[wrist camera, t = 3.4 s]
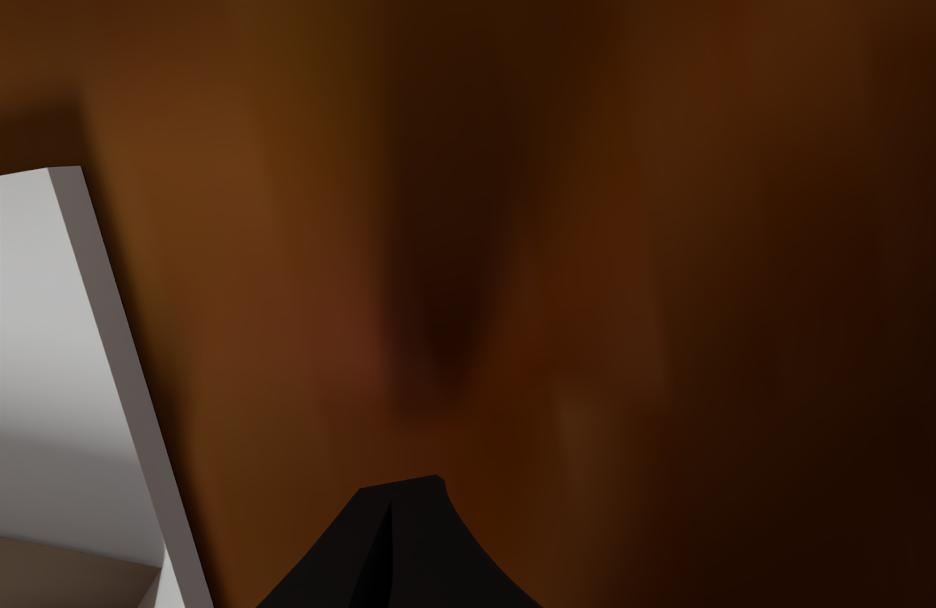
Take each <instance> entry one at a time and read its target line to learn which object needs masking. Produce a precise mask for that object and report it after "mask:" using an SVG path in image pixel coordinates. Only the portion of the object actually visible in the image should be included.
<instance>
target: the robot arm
mask: <svg viewBox="0 0 936 608" xmlns="http://www.w3.org/2000/svg"><path fill="white" fill-rule="evenodd" d="M256 608H543V607H542V606H540V605H539V604H538V603H537V602H536V601H534V600H533V599H532V598H531V597H529V596H528V595H527V594H526V593H525V592H524V591H523V590H522V589H521V588H519V587H518V586H517V585H516V584H515V583H514V582H513V581H512V580H511V579H510V578H509V577H508V576H507V575H506V574H505V573H504V572H503V571H502V570H501V569H500V568H499V567H498V566H497V565H496V564H495V562H494V561H493V560H492V559H491V558H490V557H489V556H488V554H487V553H486V552H485V551H484V550H483V549H482V547H481V546H480V545H479V544H478V542H477V541H476V540H475V539H474V537H473V536H472V534H471V533H470V531H469V530H468V529H467V527H466V526H465V524H464V523H463V522H462V520H461V519H460V517H459V515H458V514H457V512H456V510H455V509H454V507H453V505H452V503H451V501H450V499H449V497H448V495H447V491H446V486H445V481H444V480H443V479H442V478H441V477H439V476H438V475H431V476H425V477H420V478H414V479H409V480H403V481H398V482H393V483H387V484H382V485H376V486H371V487H365V488H360V489H359V490H358V491H357V492H356V493H355V495H354V496H353V497H352V498H351V500H350V501H349V502H348V503H347V505H346V506H345V507H344V508H343V510H342V511H341V512H340V513H339V515H338V516H337V517H336V518H335V520H334V521H333V522H332V523H331V525H330V526H329V527H328V528H327V530H326V531H325V532H324V533H323V534H322V536H321V537H320V538H319V539H318V540H317V542H316V543H315V544H314V545H313V546H312V548H311V549H310V550H309V551H308V552H307V554H306V555H305V556H304V557H303V558H302V559H301V560H300V561H299V562H298V564H297V565H296V566H295V567H294V568H293V569H292V570H291V571H290V572H289V573H288V574H287V575H286V576H285V577H284V579H283V580H282V581H281V582H280V583H279V584H278V585H277V586H276V587H275V588H274V589H273V590H272V591H271V592H270V594H269V595H268V596H267V597H266V598H265V599H264V600H263V601H262V602H261V603H260V604H259V605H258V606H257V607H256Z"/></svg>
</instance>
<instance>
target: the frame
mask: <svg viewBox="0 0 936 608" xmlns="http://www.w3.org/2000/svg"><path fill="white" fill-rule="evenodd" d="M161 570H162V568H160V567H154V566H149V565H144V564H139V563H134V562H129V561H124V560H118V559H113V558H108V557H103V556H98V555H93V554H87V553H82V552H77V551H72V550H67V549H62V548H57V547H51V546H46V545H41V544H36V543H31V542H26V541H20V540H15V539H10V538H5V537H0V608H154V606H155V601H156V596H157V591H158V586H159V581H160V575H161Z"/></svg>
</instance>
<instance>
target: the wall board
mask: <svg viewBox="0 0 936 608" xmlns="http://www.w3.org/2000/svg"><path fill="white" fill-rule="evenodd" d="M0 537H5V538H10V539H15V540H20V541H26V542H31V543H36V544H41V545H46V546H51V547H57V548H62V549H67V550H72V551H77V552H82V553H87V554H93V555H98V556H103V557H108V558H113V559H118V560H124V561H129V562H134V563H139V564H144V565H149V566H154V567H160V568H162V570H161V575H160V581H159V586H158V591H157V596H156V601H155V606H154V608H214V607H213V603H212V600H211V597H210V594H209V590H208V587H207V584H206V580H205V577H204V574H203V570H202V567H201V564H200V560H199V557H198V554H197V550H196V547H195V544H194V541H193V537H192V534H191V531H190V527H189V524H188V521H187V517H186V514H185V511H184V507H183V504H182V501H181V497H180V494H179V491H178V487H177V484H176V481H175V478H174V474H173V471H172V468H171V464H170V461H169V458H168V454H167V451H166V448H165V444H164V441H163V438H162V434H161V431H160V428H159V425H158V421H157V418H156V415H155V411H154V408H153V405H152V401H151V398H150V395H149V391H148V388H147V385H146V381H145V378H144V375H143V372H142V368H141V365H140V362H139V358H138V355H137V352H136V348H135V345H134V342H133V338H132V335H131V332H130V328H129V325H128V322H127V319H126V315H125V312H124V309H123V305H122V302H121V299H120V295H119V292H118V289H117V285H116V282H115V279H114V275H113V272H112V269H111V266H110V262H109V259H108V256H107V252H106V249H105V246H104V242H103V239H102V236H101V232H100V229H99V226H98V222H97V219H96V216H95V213H94V209H93V206H92V203H91V199H90V196H89V193H88V189H87V186H86V183H85V179H84V176H83V173H82V169H81V166H66V167H48V168H42V169H36V170H30V171H24V172H19V173H13V174H7V175H1V176H0Z"/></svg>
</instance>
